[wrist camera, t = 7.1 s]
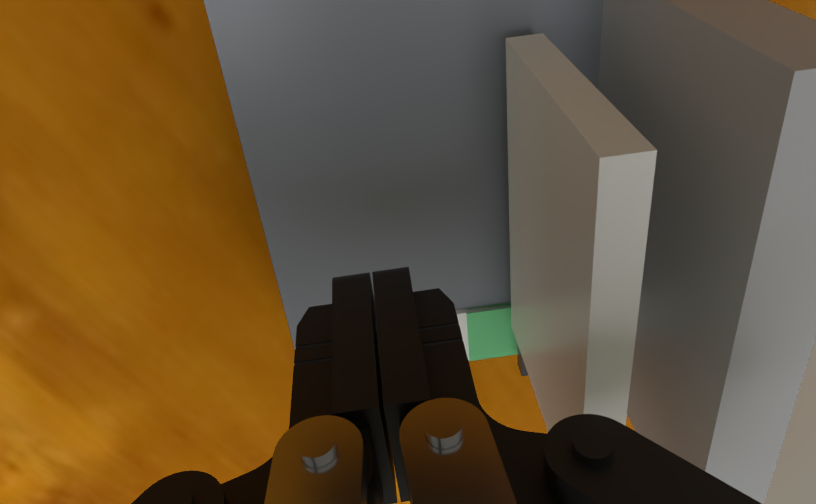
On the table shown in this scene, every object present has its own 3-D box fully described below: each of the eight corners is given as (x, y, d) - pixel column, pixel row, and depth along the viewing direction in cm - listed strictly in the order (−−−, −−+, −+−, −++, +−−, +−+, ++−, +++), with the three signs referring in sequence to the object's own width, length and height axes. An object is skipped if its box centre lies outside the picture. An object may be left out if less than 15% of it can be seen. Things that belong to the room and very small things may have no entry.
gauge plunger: (505, 38, 14) (599, 157, 9) (542, 32, 14) (656, 150, 9) (511, 363, 19) (574, 554, 14) (539, 359, 19) (611, 549, 14)
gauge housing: (206, -13, 14) (103, 123, 8) (664, -71, 14) (924, 14, 8) (303, 365, 20) (288, 613, 14) (624, 319, 20) (755, 543, 14)
